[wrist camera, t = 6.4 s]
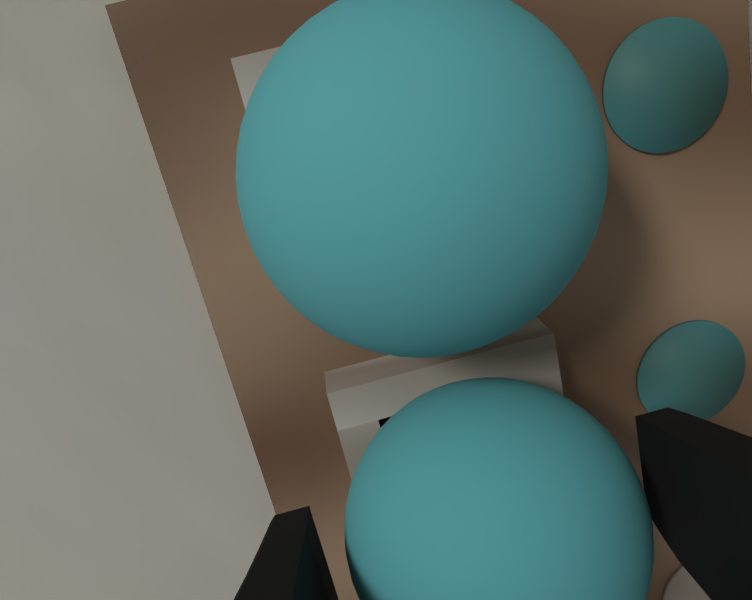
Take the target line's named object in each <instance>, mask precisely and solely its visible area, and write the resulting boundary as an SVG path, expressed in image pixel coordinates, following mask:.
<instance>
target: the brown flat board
mask: <svg viewBox="0 0 752 600" xmlns="http://www.w3.org/2000/svg"><path fill="white" fill-rule="evenodd" d="M336 1H338V0H125V1H121V2H117V3H113V4H109V5H105V7H106V10H107V13H108V16H109V19H110V22H111V25H112V28H113V31H114V34H115V37H116V40H117V43H118V46H119V49H120V52H121V55H122V57H123V60H124V63H125V66H126V69H127V72H128V75H129V78H130V81H131V84H132V87H133V90H134V93H135V96H136V99H137V102H138V105H139V108H140V111H141V114H142V117H143V120H144V123H145V126H146V129H147V132H148V135H149V138H150V141H151V144H152V147H153V150H154V153H155V156H156V159H157V162H158V165H159V168H160V170H161V173H162V176H163V179H164V182H165V185H166V188H167V191H168V194H169V197H170V200H171V203H172V206H173V209H174V212H175V215H176V218H177V221H178V224H179V227H180V230H181V233H182V236H183V239H184V242H185V245H186V248H187V251H188V254H189V257H190V260H191V263H192V266H193V269H194V272H195V275H196V278H197V280H198V283H199V286H200V289H201V292H202V295H203V298H204V301H205V304H206V307H207V310H208V313H209V316H210V319H211V322H212V325H213V328H214V331H215V334H216V337H217V340H218V343H219V346H220V349H221V352H222V355H223V358H224V361H225V364H226V367H227V370H228V373H229V376H230V379H231V382H232V385H233V388H234V391H235V393H236V396H237V399H238V402H239V405H240V408H241V411H242V414H243V417H244V420H245V423H246V426H247V429H248V432H249V435H250V438H251V441H252V444H253V447H254V450H255V453H256V456H257V459H258V462H259V465H260V468H261V471H262V474H263V477H264V480H265V483H266V486H267V489H268V492H269V495H270V498H271V501H272V503H273V506H274V509H275V512H276V515H277V514H281V513H284V512H288V511H292V510H295V509H299V508H303V507H306V506H309V507H310V510H311V513H312V517H313V520H314V523H315V526H316V529H317V532H318V536H319V539H320V542H321V545H322V548H323V551H324V555H325V558H326V561H327V564H328V567H329V570H330V574H331V577H332V580H333V583H334V586H335V589H336V593H337V596H338V600H359V598H358V595H357V593H356V590H355V588H354V585H353V583H352V579H351V575H350V570H349V566H348V561H347V557H346V552H345V537H344V519H345V508H346V502H347V497H348V493H349V489H350V485H351V481H352V478H353V475H354V473H355V470H356V468H357V465H358V463H359V461H360V459H361V457H362V455H363V453H364V451H365V450H366V448H367V446H368V444H369V443H370V441H371V440H372V438H373V437H374V436H375V434H376V433H377V432H378V430H379V429H380V428H381V427H382V426H383V425H384V424H385V423H386V422H387V421H388V420H389V419H390V417H391V416H392V415H394V414H395V413H396V412H397V411H399V410H400V409H401V408H402V407H404V406H405V405H406V404H407V403H409V402H410V401H412V400H414V399H415V398H417V397H418V396H420V395H422V394H424V393H426V392H428V391H430V390H432V389H434V388H437V387H440V386H443V385H446V384H449V383H452V382H457V381H462V380H466V379H473V378H485V377H495V378H508V379H514V380H520V381H525V382H529V383H532V384H535V385H539V386H542V387H545V388H548V389H550V390H552V391H554V392H556V393H558V394H560V395H562V396H564V397H566V398H568V399H570V400H571V401H573V402H574V403H576V404H577V405H579V406H580V407H582V408H583V409H585V410H586V411H587V412H588V413H589V414H591V415H592V416H593V417H594V418H595V419H596V420H597V421H598V422H600V423H601V424H602V425H603V426H604V427H605V428H606V429H607V430H608V431H609V432H610V434H611V435H612V436H613V437H614V439H615V440H616V441H617V442H618V444H619V445H620V446H621V448H622V449H623V450H624V451H625V453H626V454H627V456H628V458H629V460H630V461H631V463H632V465H633V467H634V469H635V471H636V473H637V475H638V477H639V479H640V481H641V484H642V486H643V477H642V469H641V461H640V453H639V445H638V436H637V428H636V420H635V416H638V415H641V414H645V413H649V412H652V411H656V410H660V409H663V408H667V407H669V408H672V409H675V410H679V411H682V412H685V413H688V414H690V415H693V416H696V417H699V418H702V419H704V420H707V421H710V422H712V423H715V424H718V425H720V426H723V427H726V428H728V429H731V430H734V431H736V432H739V433H742V434H744V435H747V436H750V437H752V96H751V75H750V55H749V35H748V15H747V0H510V1H512V2H514V3H516V4H517V5H519V6H520V7H522V8H523V9H525V10H527V11H528V12H530V13H531V14H533V15H534V16H535V17H536V18H538V19H539V20H540V21H541V22H542V23H543V24H545V25H546V26H547V27H548V28H549V29H550V30H552V31H553V33H554V34H555V35H556V36H557V37H558V38H559V39H560V41H561V42H562V43H563V44H564V45H565V46H566V47H567V48H568V50H569V51H570V53H571V54H572V55H573V57H574V59H575V60H576V62H577V63H578V65H579V66H580V68H581V69H582V71H583V72H584V74H585V76H586V78H587V80H588V82H589V84H590V86H591V88H592V90H593V92H594V94H595V97H596V100H597V103H598V106H599V109H600V112H601V115H602V118H603V123H604V128H605V134H606V139H607V150H608V179H607V191H606V197H605V202H604V207H603V212H602V216H601V220H600V223H599V226H598V229H597V232H596V235H595V238H594V240H593V242H592V244H591V246H590V249H589V251H588V253H587V255H586V257H585V259H584V261H583V262H582V264H581V265H580V267H579V269H578V270H577V272H576V274H575V275H574V277H573V278H572V279H571V281H570V282H569V283H568V284H567V286H566V287H565V288H564V290H563V291H562V292H561V293H560V294H559V295H558V296H557V297H556V299H555V300H554V301H553V302H552V303H551V304H550V305H549V306H548V307H547V308H546V309H545V310H543V311H542V312H541V313H540V314H538V315H537V316H536V317H535V318H533V319H532V320H531V321H530V322H528V323H527V324H525V325H524V326H522V327H520V328H519V329H517V330H516V331H514V332H512V333H511V334H509V335H507V336H505V337H503V338H501V339H499V340H496V341H494V342H492V343H490V344H488V345H485V346H482V347H479V348H476V349H473V350H470V351H467V352H463V353H458V354H453V355H448V356H441V357H429V358H413V357H398V356H392V355H387V354H381V353H377V352H373V351H370V350H367V349H364V348H360V347H357V346H354V345H351V344H349V343H347V342H345V341H343V340H340V339H338V338H336V337H334V336H332V335H330V334H329V333H327V332H325V331H324V330H322V329H321V328H319V327H317V326H316V325H314V324H313V323H312V322H310V321H309V320H308V319H307V318H305V317H304V316H303V315H302V314H301V313H299V312H298V311H297V310H296V309H295V308H294V307H293V306H292V305H291V304H290V303H289V302H288V301H287V300H286V299H285V298H284V297H283V295H282V294H281V293H280V292H279V291H278V290H277V289H276V287H275V286H274V284H273V283H272V282H271V280H270V279H269V277H268V276H267V275H266V273H265V272H264V270H263V269H262V267H261V265H260V263H259V261H258V259H257V258H256V256H255V254H254V252H253V250H252V248H251V245H250V243H249V240H248V237H247V235H246V232H245V229H244V227H243V222H242V218H241V214H240V210H239V205H238V198H237V188H236V152H237V145H238V139H239V133H240V127H241V123H242V120H243V117H244V114H245V110H246V107H247V104H248V101H249V99H250V96H251V94H252V92H253V90H254V88H255V86H256V83H257V81H258V79H259V77H260V76H261V74H262V73H263V71H264V69H265V68H266V66H267V65H268V63H269V62H270V60H271V58H272V57H273V56H274V54H275V53H276V52H277V51H278V50H279V48H280V47H281V46H282V45H283V44H284V43H285V41H286V40H287V39H288V38H289V37H290V36H291V35H292V34H293V33H294V32H295V31H296V30H297V29H299V28H300V27H301V26H302V25H303V24H304V23H305V22H306V21H307V20H309V19H310V18H311V17H313V16H314V15H316V14H317V13H319V12H320V11H322V10H323V9H325V8H326V7H328V6H329V5H331V4H332V3H334V2H336ZM643 489H644V486H643ZM652 523H653V536H654V563H653V572H652V578H651V584H650V588H649V591H648V595H647V599H646V600H711V599H710V598H709V597H708V596H707V594H706V593H705V592H704V591H703V590H702V588H701V587H700V586H699V585H698V584H697V582H696V581H695V580H694V579H693V578H692V576H691V575H690V574H689V573H688V572H687V570H686V569H685V568H684V567H683V565H682V564H681V563H680V562H679V561H678V559H677V558H676V556H675V555H674V553H673V552H672V550H671V549H670V547H669V546H668V544H667V543H666V541H665V540H664V538H663V537H662V535H661V533H660V532H659V530H658V529H657V527H656V526H655V524H654V522H653V521H652Z"/></svg>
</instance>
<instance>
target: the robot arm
mask: <svg viewBox="0 0 752 600" xmlns="http://www.w3.org/2000/svg"><path fill="white" fill-rule="evenodd" d="M635 420H636V428H637V436H638V445H639V453H640V461H641V469H642V477H643V486H644V492H645V494H646V498H647V501H648V505H649V509H650V513H651V518H652V521H653V522H654V524H655V526H656V527H657V529H658V530H659V532H660V533H661V535H662V537H663V538H664V540H665V541H666V543H667V544H668V546H669V547H670V549H671V550H672V552H673V553H674V555H675V556H676V558H677V559H678V561H679V562H680V563H681V564H682V565H683V567H684V568H685V569H686V570H687V572H688V573H689V574H690V575H691V576H692V578H693V579H694V580H695V581H696V582H697V584H698V585H699V586H700V587H701V588H702V590H703V591H704V592H705V593H706V594H707V596H708V597H709V598H710V599H711V600H752V437H750V436H747V435H744V434H742V433H739V432H736V431H734V430H731V429H728V428H726V427H723V426H720V425H718V424H715V423H712V422H710V421H707V420H704V419H702V418H699V417H696V416H693V415H690V414H688V413H685V412H682V411H679V410H675V409H672V408H669V407H667V408H663V409H660V410H656V411H652V412H649V413H645V414H641V415H638V416H635ZM234 600H338V596H337V593H336V589H335V586H334V583H333V580H332V577H331V574H330V570H329V567H328V564H327V561H326V558H325V555H324V551H323V548H322V545H321V542H320V539H319V536H318V532H317V529H316V526H315V523H314V520H313V517H312V513H311V510H310V507H309V506H306V507H303V508H299V509H295V510H292V511H288V512H284V513H281V514H277V515H275V516H274V518H273V519H272V521H271V523H270V525H269V527H268V529H267V532H266V534H265V536H264V538H263V541H262V543H261V545H260V547H259V549H258V552H257V554H256V556H255V558H254V560H253V562H252V564H251V567H250V569H249V571H248V573H247V575H246V577H245V579H244V581H243V583H242V585H241V587H240V589H239V590H238V592H237V594H236V596H235V598H234Z"/></svg>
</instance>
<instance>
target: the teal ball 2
mask: <svg viewBox="0 0 752 600" xmlns="http://www.w3.org/2000/svg"><path fill="white" fill-rule="evenodd" d="M344 537H345V552H346V557H347V561H348V566H349V570H350V575H351V579H352V583H353V585H354V588H355V590H356V593H357V595H358V598H359V600H646V599H647V595H648V591H649V588H650V584H651V578H652V572H653V563H654V536H653V523H652V518H651V513H650V509H649V505H648V501H647V498H646V494H645V492H644V489H643V486H642V484H641V481H640V479H639V477H638V475H637V473H636V471H635V469H634V467H633V465H632V463H631V461H630V460H629V458H628V456H627V454H626V453H625V451H624V450H623V449H622V448H621V446H620V445H619V444H618V442H617V441H616V440H615V439H614V437H613V436H612V435H611V434H610V432H609V431H608V430H607V429H606V428H605V427H604V426H603V425H602V424H601V423H600V422H598V421H597V420H596V419H595V418H594V417H593V416H592V415H591V414H589V413H588V412H587V411H586V410H585V409H583V408H582V407H580V406H579V405H577V404H576V403H574V402H573V401H571V400H570V399H568V398H566V397H564V396H562V395H560V394H558V393H556V392H554V391H552V390H550V389H548V388H545V387H542V386H539V385H535V384H532V383H529V382H525V381H520V380H514V379H508V378H495V377H485V378H473V379H466V380H462V381H457V382H452V383H449V384H446V385H443V386H440V387H437V388H434V389H432V390H430V391H428V392H426V393H424V394H422V395H420V396H418V397H417V398H415V399H414V400H412V401H410V402H409V403H407V404H406V405H405V406H404V407H402V408H401V409H400V410H399V411H397V412H396V413H395V414H394V415H392V416H391V417H390V419H389V420H388V421H387V422H386V423H385V424H384V425H383V426H382V427H381V428H380V429H379V430H378V432H377V433H376V434H375V436H374V437H373V438H372V440H371V441H370V443H369V444H368V446H367V448H366V450H365V451H364V453H363V455H362V457H361V459H360V461H359V463H358V465H357V468H356V470H355V473H354V475H353V478H352V481H351V485H350V489H349V493H348V497H347V502H346V508H345V519H344Z"/></svg>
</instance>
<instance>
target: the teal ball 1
mask: <svg viewBox="0 0 752 600" xmlns="http://www.w3.org/2000/svg"><path fill="white" fill-rule="evenodd" d="M607 179H608V150H607V139H606V134H605V128H604V123H603V118H602V115H601V112H600V109H599V106H598V103H597V100H596V97H595V94H594V92H593V90H592V88H591V86H590V84H589V82H588V80H587V78H586V76H585V74H584V72H583V71H582V69H581V68H580V66H579V65H578V63H577V62H576V60H575V59H574V57H573V55H572V54H571V53H570V51H569V50H568V48H567V47H566V46H565V45H564V44H563V43H562V42H561V41H560V39H559V38H558V37H557V36H556V35H555V34H554V33H553V31H552V30H550V29H549V28H548V27H547V26H546V25H545V24H543V23H542V22H541V21H540V20H539V19H538V18H536V17H535V16H534V15H533V14H531V13H530V12H528V11H527V10H525V9H523V8H522V7H520V6H519V5H517V4H516V3H514V2H512V1H510V0H338V1H336V2H334V3H332V4H331V5H329V6H328V7H326V8H325V9H323V10H322V11H320V12H319V13H317V14H316V15H314V16H313V17H311V18H310V19H309V20H307V21H306V22H305V23H304V24H303V25H302V26H301V27H300V28H299V29H297V30H296V31H295V32H294V33H293V34H292V35H291V36H290V37H289V38H288V39H287V40H286V41H285V43H284V44H283V45H282V46H281V47H280V48H279V50H278V51H277V52H276V53H275V54H274V56H273V57H272V58H271V60H270V62H269V63H268V65H267V66H266V68H265V69H264V71H263V73H262V74H261V76H260V77H259V79H258V81H257V83H256V86H255V88H254V90H253V92H252V94H251V96H250V99H249V101H248V104H247V107H246V110H245V114H244V117H243V120H242V123H241V127H240V133H239V139H238V145H237V152H236V188H237V198H238V205H239V210H240V214H241V218H242V222H243V227H244V229H245V232H246V235H247V237H248V240H249V243H250V245H251V248H252V250H253V252H254V254H255V256H256V258H257V259H258V261H259V263H260V265H261V267H262V269H263V270H264V272H265V273H266V275H267V276H268V277H269V279H270V280H271V282H272V283H273V284H274V286H275V287H276V289H277V290H278V291H279V292H280V293H281V294H282V295H283V297H284V298H285V299H286V300H287V301H288V302H289V303H290V304H291V305H292V306H293V307H294V308H295V309H296V310H297V311H298V312H299V313H301V314H302V315H303V316H304V317H305V318H307V319H308V320H309V321H310V322H312V323H313V324H314V325H316V326H317V327H319V328H321V329H322V330H324V331H325V332H327V333H329V334H330V335H332V336H334V337H336V338H338V339H340V340H343V341H345V342H347V343H349V344H351V345H354V346H357V347H360V348H364V349H367V350H370V351H373V352H377V353H381V354H387V355H392V356H398V357H413V358H429V357H441V356H448V355H453V354H458V353H463V352H467V351H470V350H473V349H476V348H479V347H482V346H485V345H488V344H490V343H492V342H494V341H496V340H499V339H501V338H503V337H505V336H507V335H509V334H511V333H512V332H514V331H516V330H517V329H519V328H520V327H522V326H524V325H525V324H527V323H528V322H530V321H531V320H532V319H533V318H535V317H536V316H537V315H538V314H540V313H541V312H542V311H543V310H545V309H546V308H547V307H548V306H549V305H550V304H551V303H552V302H553V301H554V300H555V299H556V297H557V296H558V295H559V294H560V293H561V292H562V291H563V290H564V288H565V287H566V286H567V284H568V283H569V282H570V281H571V279H572V278H573V277H574V275H575V274H576V272H577V270H578V269H579V267H580V265H581V264H582V262H583V261H584V259H585V257H586V255H587V253H588V251H589V249H590V246H591V244H592V242H593V240H594V238H595V235H596V232H597V229H598V226H599V223H600V220H601V216H602V212H603V207H604V202H605V197H606V191H607Z"/></svg>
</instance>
